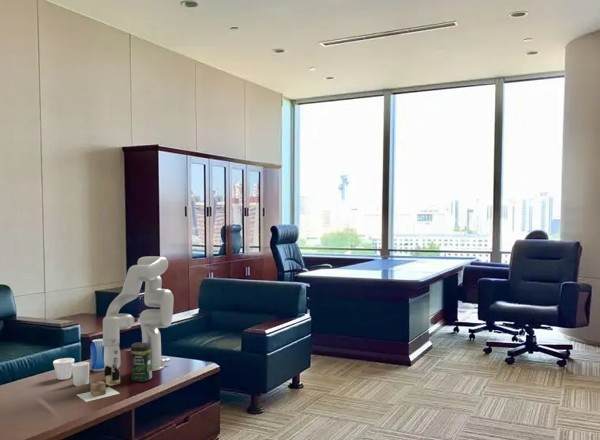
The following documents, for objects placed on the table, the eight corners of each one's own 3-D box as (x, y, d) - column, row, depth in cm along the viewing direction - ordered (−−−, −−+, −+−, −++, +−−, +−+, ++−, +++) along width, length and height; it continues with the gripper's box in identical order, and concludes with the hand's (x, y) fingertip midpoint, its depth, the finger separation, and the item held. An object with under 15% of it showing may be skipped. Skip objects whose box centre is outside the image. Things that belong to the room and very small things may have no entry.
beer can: (90, 368, 283) (89, 339, 284) (107, 366, 287) (106, 337, 287) (91, 372, 276) (90, 342, 276) (108, 370, 279) (107, 340, 279)
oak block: (116, 384, 254) (116, 373, 254) (120, 386, 251) (120, 375, 251) (106, 386, 251) (105, 375, 251) (110, 388, 247) (109, 378, 247)
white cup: (69, 385, 254) (68, 365, 254) (82, 381, 261) (81, 361, 261) (80, 387, 250) (79, 366, 251) (93, 382, 257) (92, 362, 257)
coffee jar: (128, 382, 256) (127, 344, 256) (136, 377, 264) (135, 340, 264) (147, 382, 254) (145, 344, 255) (154, 377, 262) (153, 340, 262)
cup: (78, 375, 271) (78, 357, 271) (68, 381, 261) (67, 362, 261) (60, 375, 272) (59, 358, 272) (49, 381, 262) (48, 363, 262)
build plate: (109, 389, 245) (109, 387, 245) (120, 396, 235) (120, 393, 235) (76, 397, 235) (76, 394, 235) (86, 404, 226) (86, 401, 226)
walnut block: (101, 391, 239) (101, 380, 239) (105, 394, 235) (105, 382, 235) (90, 394, 236) (90, 383, 236) (94, 396, 232) (94, 385, 232)
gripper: (126, 343, 247) (126, 380, 246) (112, 338, 260) (112, 373, 259) (110, 346, 242) (110, 383, 241) (97, 341, 255) (97, 376, 254)
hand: (111, 378), depth 250 cm, fingers open, 9 cm apart
